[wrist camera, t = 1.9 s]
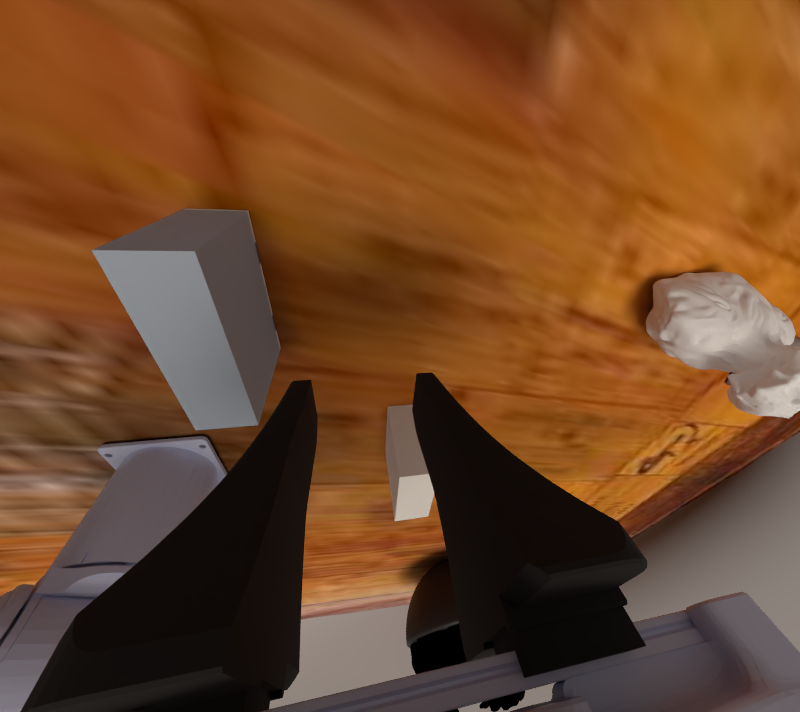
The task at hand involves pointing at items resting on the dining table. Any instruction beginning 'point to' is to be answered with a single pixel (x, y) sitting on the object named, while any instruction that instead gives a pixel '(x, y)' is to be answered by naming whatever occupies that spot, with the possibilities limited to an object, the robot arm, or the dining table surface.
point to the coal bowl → (440, 630)
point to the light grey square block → (406, 466)
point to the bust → (730, 338)
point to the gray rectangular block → (200, 310)
